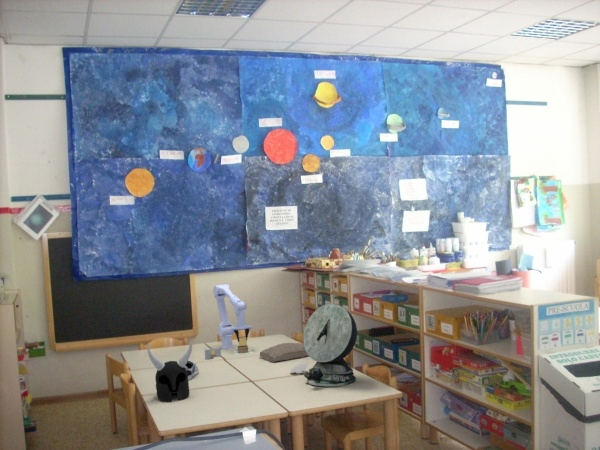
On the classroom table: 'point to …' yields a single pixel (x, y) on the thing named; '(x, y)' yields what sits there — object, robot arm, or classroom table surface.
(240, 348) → the base block
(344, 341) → the sundial
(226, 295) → the robot arm
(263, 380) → the classroom table surface
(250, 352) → the build plate
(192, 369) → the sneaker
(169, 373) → the helmet
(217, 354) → the tile
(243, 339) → the brick
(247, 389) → the classroom table surface
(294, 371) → the figurine
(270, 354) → the stone tablet
